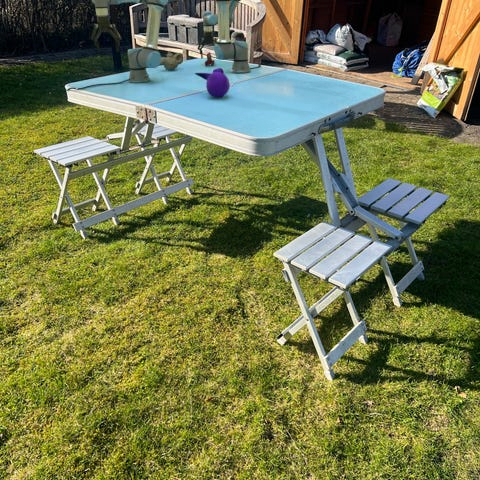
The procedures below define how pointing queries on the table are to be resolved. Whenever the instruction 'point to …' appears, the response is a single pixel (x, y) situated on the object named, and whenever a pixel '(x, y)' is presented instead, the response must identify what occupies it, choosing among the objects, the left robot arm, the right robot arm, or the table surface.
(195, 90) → the table surface
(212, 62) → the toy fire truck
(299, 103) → the table surface
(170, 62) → the teapot
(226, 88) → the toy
